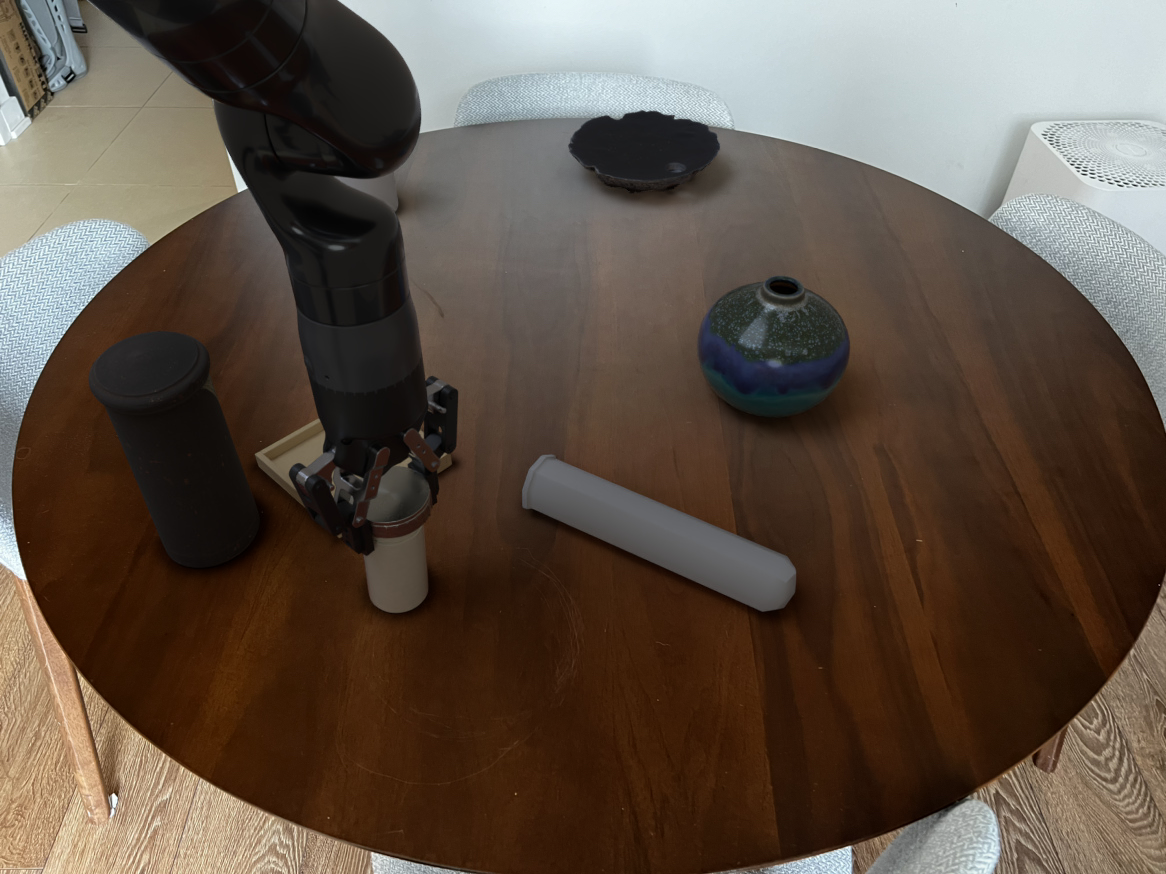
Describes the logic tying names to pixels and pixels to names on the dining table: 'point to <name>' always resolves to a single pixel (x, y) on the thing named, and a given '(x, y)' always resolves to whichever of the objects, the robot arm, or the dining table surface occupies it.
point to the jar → (398, 572)
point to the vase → (773, 348)
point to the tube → (660, 534)
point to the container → (178, 445)
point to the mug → (376, 188)
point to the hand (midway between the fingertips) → (394, 523)
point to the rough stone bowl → (644, 150)
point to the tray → (306, 456)
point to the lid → (399, 503)
